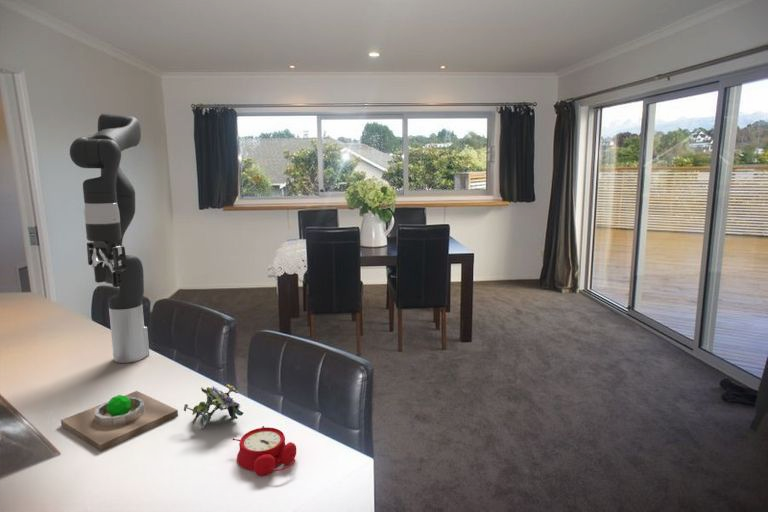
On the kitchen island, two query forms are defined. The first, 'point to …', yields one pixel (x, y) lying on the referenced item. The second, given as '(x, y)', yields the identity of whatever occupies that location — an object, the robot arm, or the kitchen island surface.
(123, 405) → the polyhedron
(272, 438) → the alarm clock
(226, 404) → the grey green plastic figure
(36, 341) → the kitchen island surface
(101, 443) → the walnut board
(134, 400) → the steel ring
